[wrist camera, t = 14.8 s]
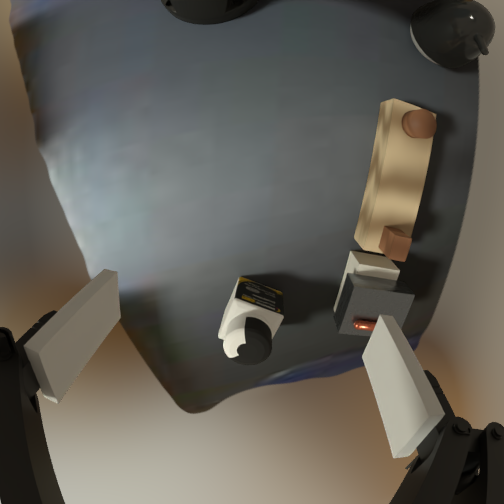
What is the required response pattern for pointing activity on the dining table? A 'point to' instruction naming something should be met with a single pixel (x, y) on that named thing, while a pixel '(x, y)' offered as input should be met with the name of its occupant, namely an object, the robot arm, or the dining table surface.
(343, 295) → the lever cap
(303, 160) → the dining table surface
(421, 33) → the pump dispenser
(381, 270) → the block
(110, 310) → the robot arm
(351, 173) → the dining table surface
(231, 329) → the medicine bottle
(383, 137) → the cream wooden plank
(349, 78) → the dining table surface
